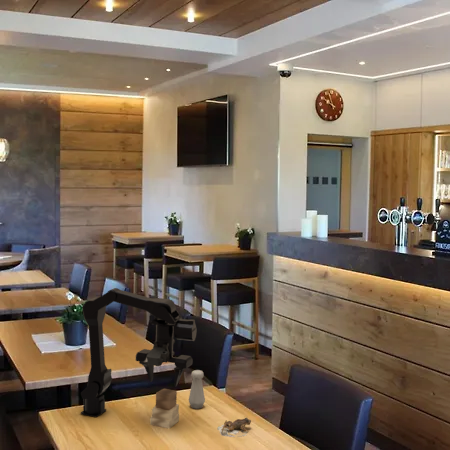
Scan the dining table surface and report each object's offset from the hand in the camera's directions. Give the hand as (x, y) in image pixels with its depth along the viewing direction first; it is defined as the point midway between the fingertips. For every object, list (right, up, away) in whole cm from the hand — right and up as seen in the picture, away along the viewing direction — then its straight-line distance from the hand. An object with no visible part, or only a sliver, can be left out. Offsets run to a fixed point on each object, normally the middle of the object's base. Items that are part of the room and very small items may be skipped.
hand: (163, 383), depth 204 cm
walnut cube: (+1, -7, -1) cm, 7 cm away
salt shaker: (+10, -12, +14) cm, 21 cm away
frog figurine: (+24, -15, -4) cm, 28 cm away
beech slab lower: (0, -13, 0) cm, 13 cm away
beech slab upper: (+1, -10, -1) cm, 10 cm away
